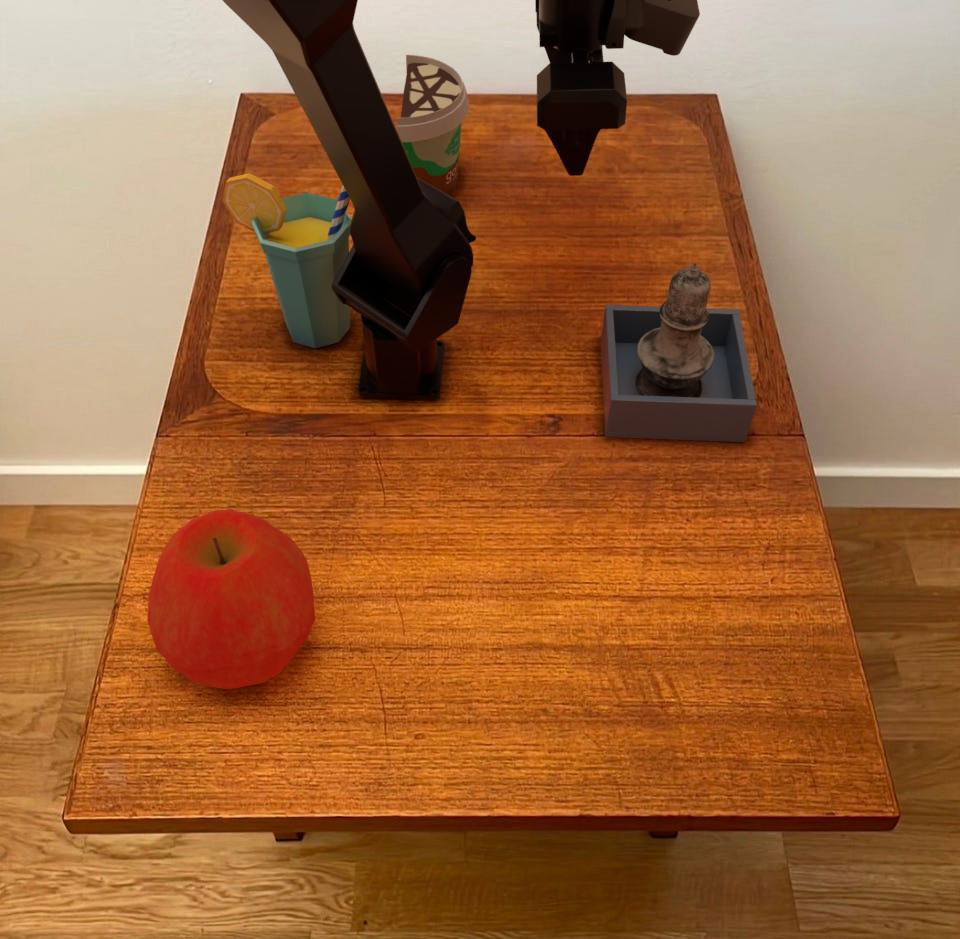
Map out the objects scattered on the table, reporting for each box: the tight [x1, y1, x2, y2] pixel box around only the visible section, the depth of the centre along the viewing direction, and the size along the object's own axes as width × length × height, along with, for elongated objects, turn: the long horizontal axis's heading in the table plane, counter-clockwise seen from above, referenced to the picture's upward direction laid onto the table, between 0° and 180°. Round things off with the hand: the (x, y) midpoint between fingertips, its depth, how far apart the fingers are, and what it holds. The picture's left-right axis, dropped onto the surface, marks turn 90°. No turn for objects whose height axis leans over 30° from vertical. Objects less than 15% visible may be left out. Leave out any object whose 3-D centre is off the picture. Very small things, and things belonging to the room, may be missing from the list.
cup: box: [221, 172, 352, 349], centre depth 78 cm, size 14×8×15 cm, turn 90°
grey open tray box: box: [599, 304, 758, 443], centre depth 78 cm, size 11×11×4 cm
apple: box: [147, 508, 316, 690], centre depth 61 cm, size 10×10×10 cm
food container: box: [396, 54, 470, 196], centre depth 94 cm, size 12×6×10 cm, turn 179°
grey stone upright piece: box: [635, 262, 714, 398], centre depth 74 cm, size 6×6×12 cm
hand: (573, 138), depth 81 cm, fingers open, 9 cm apart
